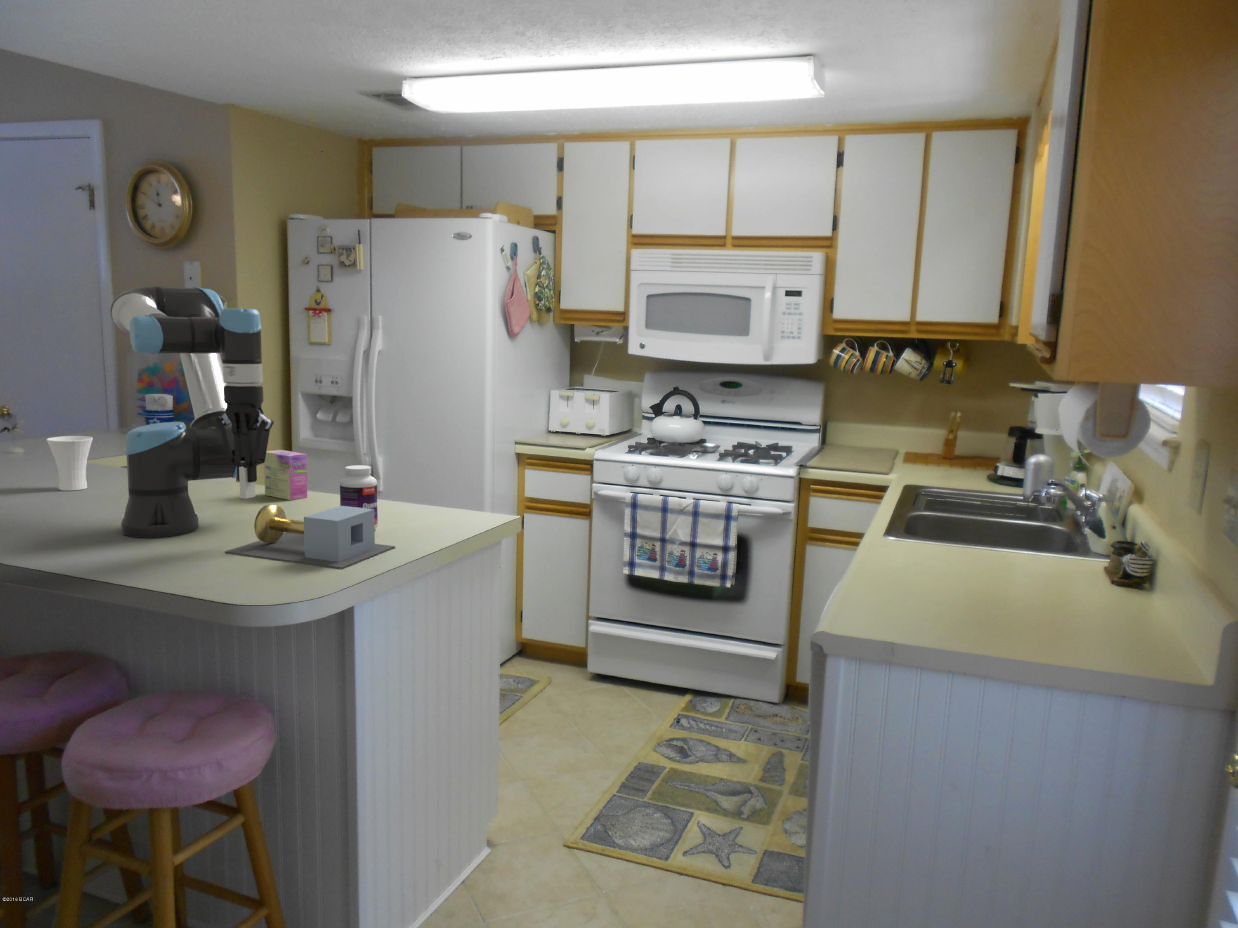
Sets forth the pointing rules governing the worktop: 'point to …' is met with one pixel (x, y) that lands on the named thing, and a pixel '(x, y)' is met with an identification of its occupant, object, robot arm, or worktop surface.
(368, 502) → the pill bottle
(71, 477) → the cup
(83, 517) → the worktop surface
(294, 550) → the mat
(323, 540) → the block
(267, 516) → the pin
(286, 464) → the box
